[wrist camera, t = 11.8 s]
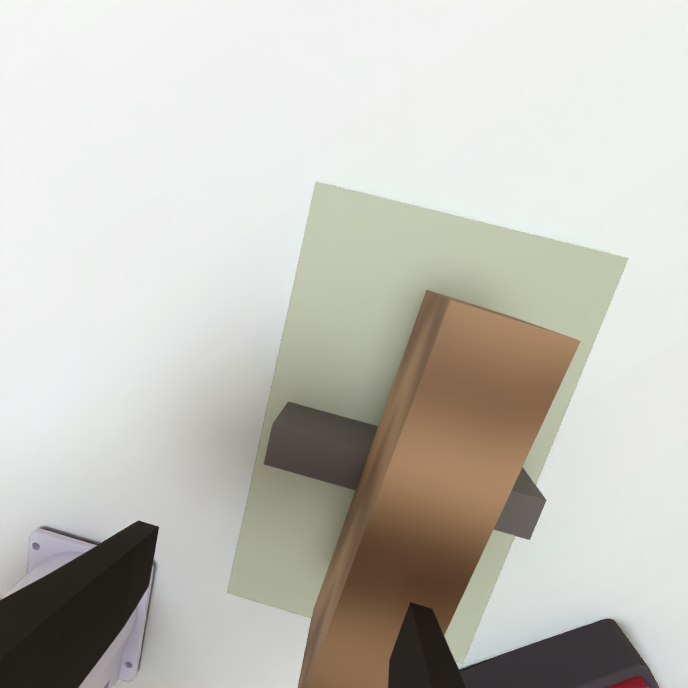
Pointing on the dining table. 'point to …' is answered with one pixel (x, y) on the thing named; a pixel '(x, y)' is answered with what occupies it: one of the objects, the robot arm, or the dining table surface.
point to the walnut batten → (432, 482)
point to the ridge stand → (392, 376)
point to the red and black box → (568, 662)
